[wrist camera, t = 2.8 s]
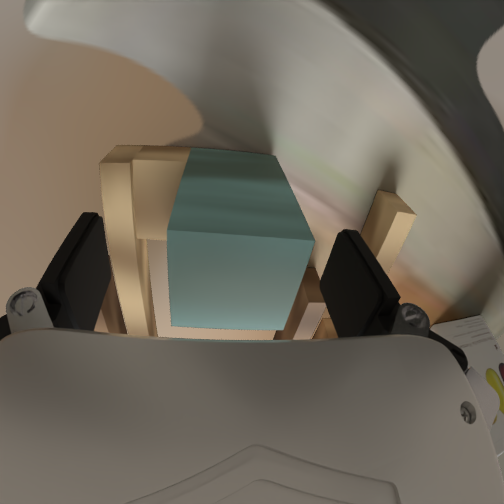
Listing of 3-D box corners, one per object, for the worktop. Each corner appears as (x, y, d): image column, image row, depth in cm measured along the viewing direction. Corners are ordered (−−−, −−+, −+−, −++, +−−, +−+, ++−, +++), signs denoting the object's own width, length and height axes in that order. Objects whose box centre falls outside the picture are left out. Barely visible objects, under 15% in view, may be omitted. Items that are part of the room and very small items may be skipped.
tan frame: (117, 145, 12) (46, 223, 7) (312, 161, 14) (372, 246, 8) (151, 378, 26) (146, 443, 20) (247, 383, 27) (254, 447, 22)
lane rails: (92, 253, 16) (76, 287, 14) (315, 268, 18) (328, 302, 16) (130, 376, 26) (126, 402, 23) (267, 383, 28) (271, 408, 26)
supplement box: (482, 312, 26) (538, 423, 13) (447, 356, 32) (487, 455, 19) (430, 323, 25) (490, 464, 12) (395, 370, 31) (434, 487, 18)
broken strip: (377, 190, 15) (397, 211, 13) (396, 193, 15) (416, 215, 14) (290, 378, 28) (294, 398, 26) (303, 377, 28) (307, 397, 26)
